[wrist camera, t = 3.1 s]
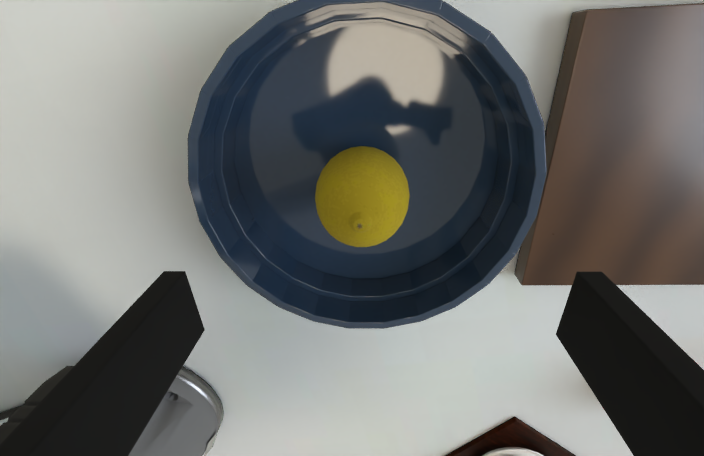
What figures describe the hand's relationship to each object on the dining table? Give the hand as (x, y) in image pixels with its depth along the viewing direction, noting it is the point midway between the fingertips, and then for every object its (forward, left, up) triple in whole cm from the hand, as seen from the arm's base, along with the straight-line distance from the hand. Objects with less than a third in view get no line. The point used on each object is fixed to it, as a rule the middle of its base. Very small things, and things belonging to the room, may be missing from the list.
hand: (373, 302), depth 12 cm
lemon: (-1, 0, -14) cm, 14 cm away
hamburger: (+15, -36, -14) cm, 41 cm away
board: (+19, 0, -14) cm, 24 cm away
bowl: (-1, 0, -14) cm, 14 cm away
